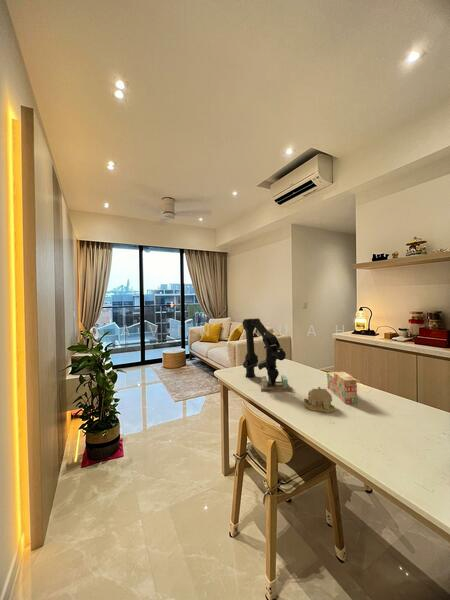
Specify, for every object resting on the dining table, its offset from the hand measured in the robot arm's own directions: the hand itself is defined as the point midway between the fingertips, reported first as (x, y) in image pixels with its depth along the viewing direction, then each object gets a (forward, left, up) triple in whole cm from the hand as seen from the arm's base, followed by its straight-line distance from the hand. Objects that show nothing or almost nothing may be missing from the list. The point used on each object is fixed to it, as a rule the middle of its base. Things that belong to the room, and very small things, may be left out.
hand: (271, 382), depth 150 cm
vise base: (0, +2, -3) cm, 3 cm away
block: (0, 0, -2) cm, 2 cm away
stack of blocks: (+12, +36, -3) cm, 38 cm away
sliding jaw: (0, +8, -2) cm, 8 cm away
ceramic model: (+27, +20, -3) cm, 34 cm away
